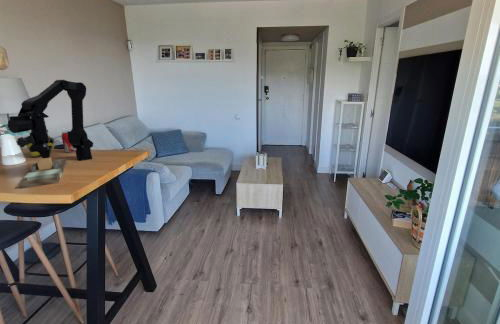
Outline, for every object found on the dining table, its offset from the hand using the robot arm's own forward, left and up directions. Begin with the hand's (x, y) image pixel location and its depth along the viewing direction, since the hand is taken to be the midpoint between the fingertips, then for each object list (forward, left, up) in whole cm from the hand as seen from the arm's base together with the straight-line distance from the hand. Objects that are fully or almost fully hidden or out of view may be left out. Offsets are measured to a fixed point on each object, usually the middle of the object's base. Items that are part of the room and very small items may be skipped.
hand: (46, 162), depth 126 cm
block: (0, +4, -2) cm, 4 cm away
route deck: (0, +5, -4) cm, 7 cm away
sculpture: (+8, -38, -4) cm, 39 cm away
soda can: (-6, -38, -4) cm, 38 cm away
